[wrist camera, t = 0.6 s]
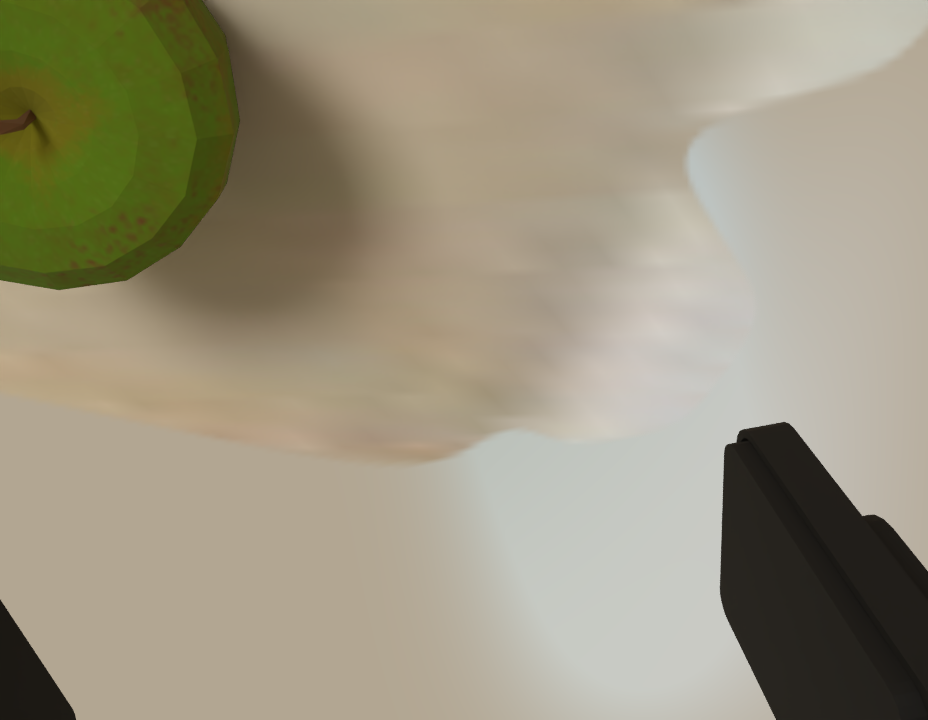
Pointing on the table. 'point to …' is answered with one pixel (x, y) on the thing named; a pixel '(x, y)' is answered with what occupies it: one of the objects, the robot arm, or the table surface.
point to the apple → (108, 135)
